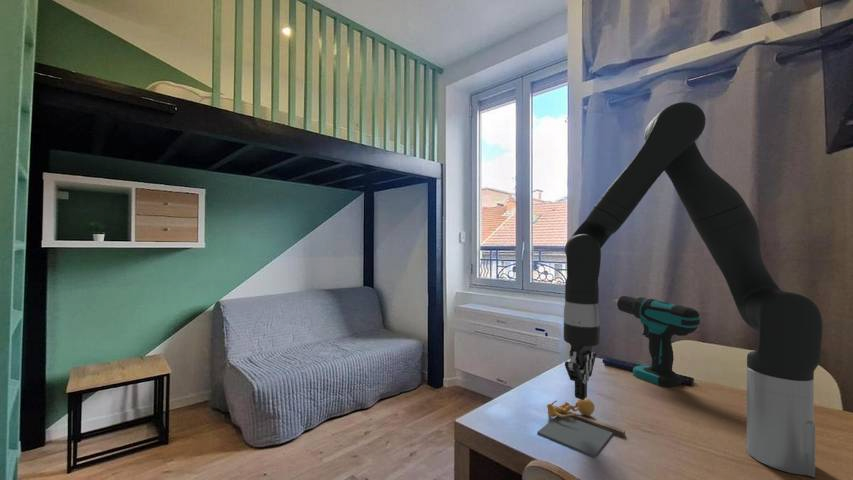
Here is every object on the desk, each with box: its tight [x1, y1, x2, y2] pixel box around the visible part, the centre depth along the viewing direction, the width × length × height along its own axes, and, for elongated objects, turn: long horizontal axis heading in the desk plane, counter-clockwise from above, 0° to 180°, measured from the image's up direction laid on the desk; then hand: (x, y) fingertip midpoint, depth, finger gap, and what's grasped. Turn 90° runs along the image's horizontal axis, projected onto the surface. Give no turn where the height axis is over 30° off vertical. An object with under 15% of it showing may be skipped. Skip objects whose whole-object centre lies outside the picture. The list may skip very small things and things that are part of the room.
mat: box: [537, 414, 614, 458], centre depth 77 cm, size 12×12×1 cm
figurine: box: [546, 397, 595, 418], centre depth 85 cm, size 8×6×12 cm
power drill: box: [612, 295, 701, 389], centre depth 111 cm, size 26×9×25 cm, turn 25°
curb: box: [561, 410, 626, 438], centre depth 82 cm, size 16×1×1 cm, turn 46°
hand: (580, 397), depth 79 cm, fingers closed
